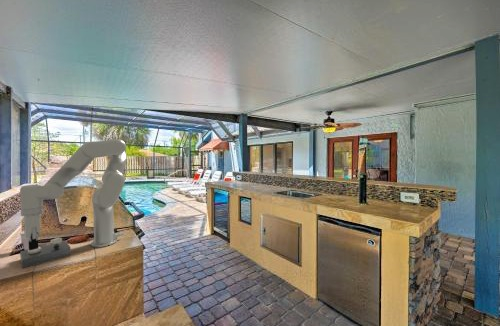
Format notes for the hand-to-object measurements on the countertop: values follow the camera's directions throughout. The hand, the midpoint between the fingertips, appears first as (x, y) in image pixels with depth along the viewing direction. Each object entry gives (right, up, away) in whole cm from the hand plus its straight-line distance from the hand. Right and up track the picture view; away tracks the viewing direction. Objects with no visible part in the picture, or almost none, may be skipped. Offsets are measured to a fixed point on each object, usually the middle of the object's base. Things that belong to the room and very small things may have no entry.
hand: (33, 248), depth 106 cm
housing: (+3, -6, +4) cm, 7 cm away
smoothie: (-14, -5, +12) cm, 19 cm away
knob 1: (0, -4, 0) cm, 4 cm away
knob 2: (+5, -1, +6) cm, 8 cm away
